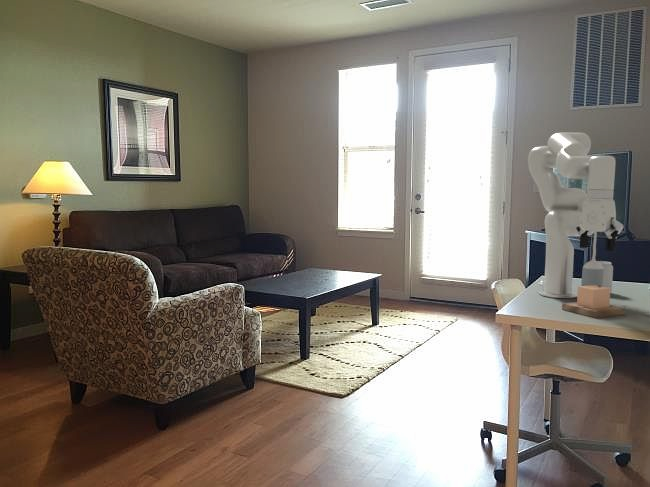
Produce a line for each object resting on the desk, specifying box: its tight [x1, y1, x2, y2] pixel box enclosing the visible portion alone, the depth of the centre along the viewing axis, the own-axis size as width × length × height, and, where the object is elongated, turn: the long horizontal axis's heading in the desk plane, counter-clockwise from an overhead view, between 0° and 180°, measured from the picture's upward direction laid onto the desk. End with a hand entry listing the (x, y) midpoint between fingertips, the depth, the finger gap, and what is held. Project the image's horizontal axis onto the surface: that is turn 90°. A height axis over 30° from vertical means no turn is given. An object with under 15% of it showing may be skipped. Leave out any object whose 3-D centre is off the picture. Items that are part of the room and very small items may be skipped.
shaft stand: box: [561, 301, 626, 319], centre depth 179 cm, size 13×13×7 cm
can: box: [596, 260, 614, 293], centre depth 212 cm, size 8×8×12 cm
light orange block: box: [576, 285, 611, 309], centre depth 179 cm, size 6×8×7 cm
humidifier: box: [580, 231, 604, 287], centre depth 193 cm, size 8×8×25 cm
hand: (596, 249), depth 177 cm, fingers open, 9 cm apart
